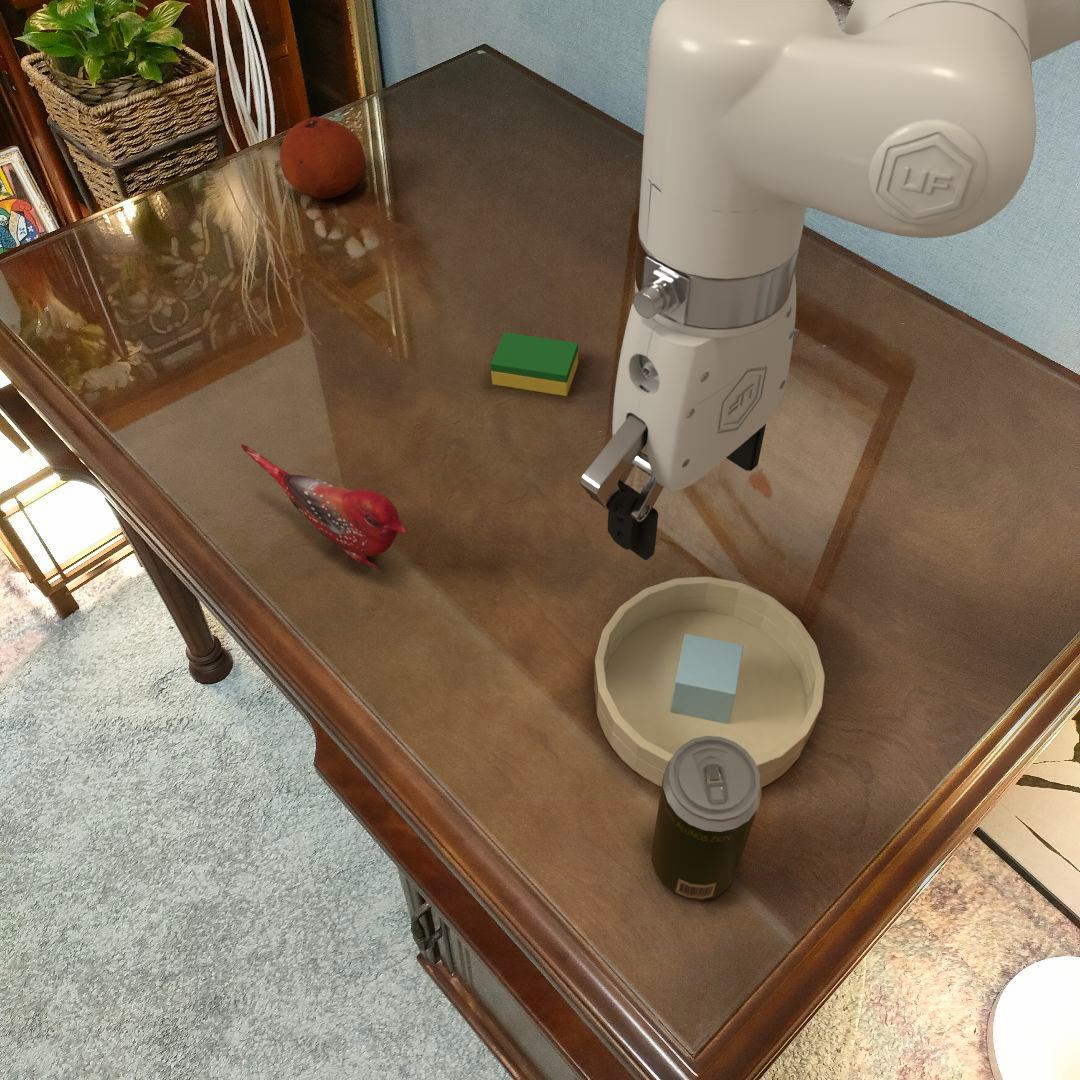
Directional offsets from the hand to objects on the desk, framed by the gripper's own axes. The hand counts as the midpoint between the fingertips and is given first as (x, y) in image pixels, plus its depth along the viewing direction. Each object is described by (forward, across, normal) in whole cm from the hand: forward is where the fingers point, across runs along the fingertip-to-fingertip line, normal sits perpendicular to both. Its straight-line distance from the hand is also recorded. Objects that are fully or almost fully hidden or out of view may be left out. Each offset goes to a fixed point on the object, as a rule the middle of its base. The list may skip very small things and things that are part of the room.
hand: (684, 500), depth 62 cm
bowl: (+16, -2, -5) cm, 17 cm away
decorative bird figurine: (+16, -11, +25) cm, 32 cm away
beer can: (+16, -11, -12) cm, 23 cm away
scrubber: (+16, +14, +28) cm, 35 cm away
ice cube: (+16, -2, -5) cm, 16 cm away
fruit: (+16, +20, +66) cm, 70 cm away
